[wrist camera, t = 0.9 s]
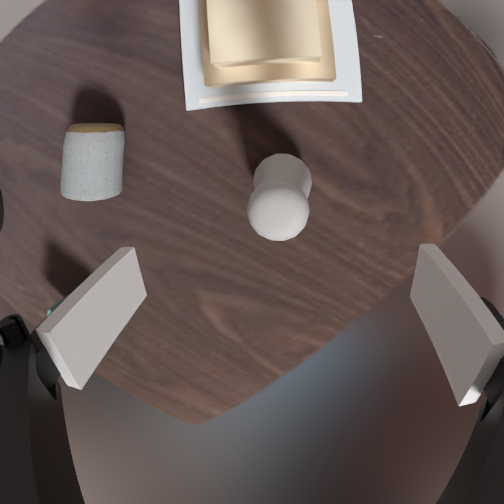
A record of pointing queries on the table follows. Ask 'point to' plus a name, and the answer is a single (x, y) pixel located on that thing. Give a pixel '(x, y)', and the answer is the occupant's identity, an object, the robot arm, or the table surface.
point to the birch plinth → (275, 69)
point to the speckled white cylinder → (92, 161)
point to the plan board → (338, 90)
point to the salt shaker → (280, 197)
